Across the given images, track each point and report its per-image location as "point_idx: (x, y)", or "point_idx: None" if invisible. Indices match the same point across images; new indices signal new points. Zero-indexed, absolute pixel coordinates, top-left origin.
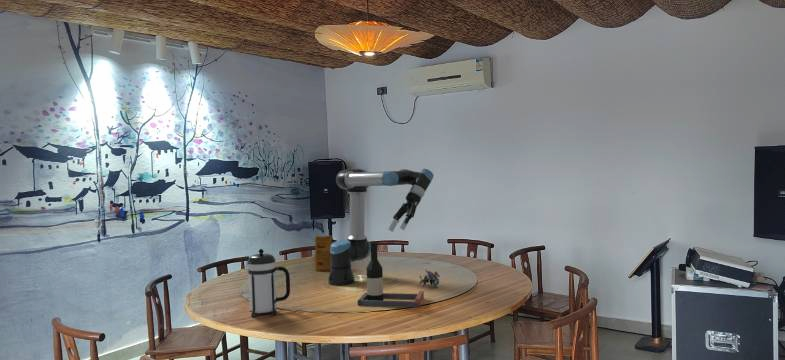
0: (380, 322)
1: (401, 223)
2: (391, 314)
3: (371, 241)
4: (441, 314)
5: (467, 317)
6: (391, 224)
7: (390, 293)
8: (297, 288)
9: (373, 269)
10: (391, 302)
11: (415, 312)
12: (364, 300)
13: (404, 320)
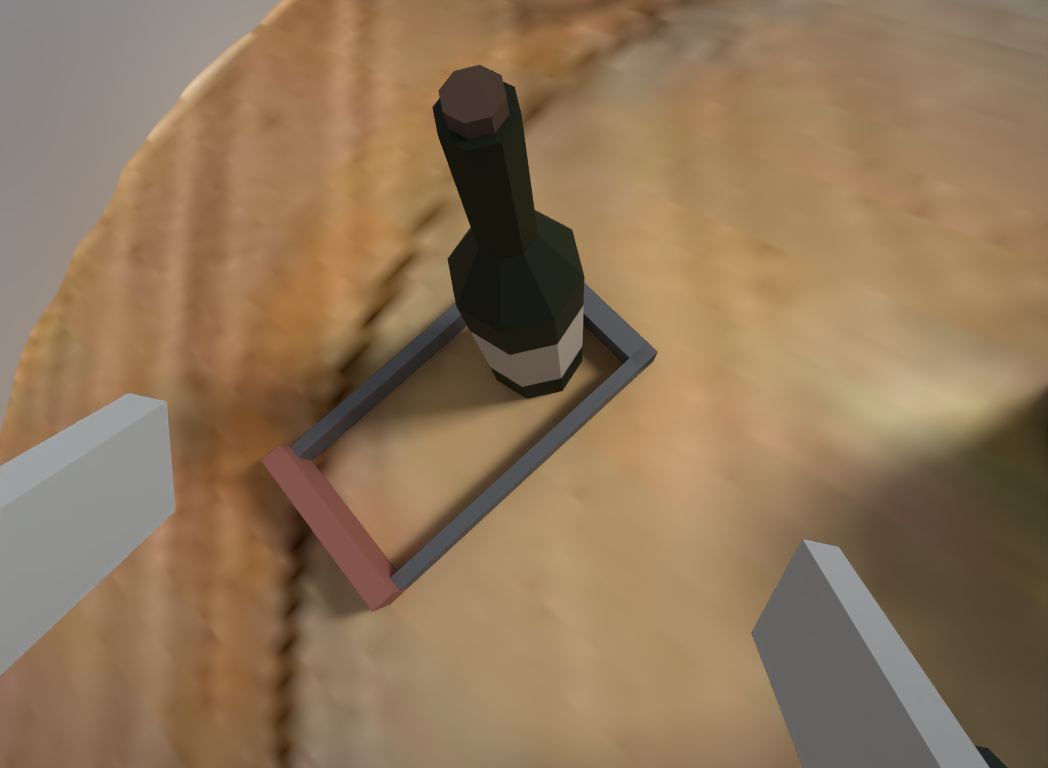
0: (257, 201)
1: (53, 462)
2: (305, 294)
3: (478, 66)
4: None
5: None
6: (876, 672)
7: (535, 455)
8: None
9: (468, 230)
10: (394, 359)
11: (243, 396)
12: None
13: (200, 288)
